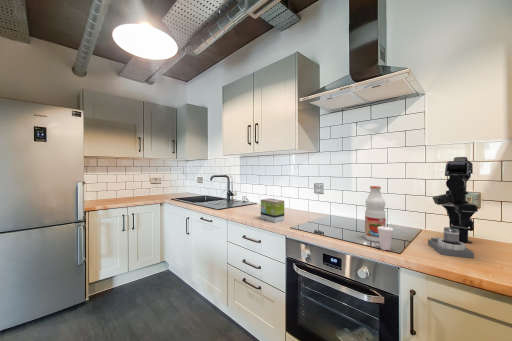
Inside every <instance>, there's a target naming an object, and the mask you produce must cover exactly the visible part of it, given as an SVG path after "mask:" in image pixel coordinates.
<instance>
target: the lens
mask: <svg viewBox="0 0 512 341" xmlns="http://www.w3.org/2000/svg"><path fill="white" fill-rule="evenodd" d="M443 239H444V242H445V243H448V244H454V245H459V229H456V228H451V227H450V226H444V227H443Z"/></svg>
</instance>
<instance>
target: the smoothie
mask: <svg viewBox="0 0 512 341" xmlns="http://www.w3.org/2000/svg"><path fill="white" fill-rule="evenodd" d="M378 232H379V240H380V242H379V246H380V247H379V248H380V249H381V250H383V251H386V250H389V251H390V250H391V245H392V237H393V233H394V228H392V227H389V226H387V217H385V227H383V226H380V227H378Z"/></svg>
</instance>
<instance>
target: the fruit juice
mask: <svg viewBox="0 0 512 341" xmlns="http://www.w3.org/2000/svg"><path fill="white" fill-rule="evenodd" d="M381 188H382V187H381V186H379V185H370V186H369V189H370V192H369V194H368V197H367V198H366V200H365V208H366V209H365V211H364V238H365V240H367V241H369V242H375V243H380V240H379V232H378V227H380V226H383V227H385V218H386V211H385V207H386V201H385V199H384V198H383V196H382V193H381Z"/></svg>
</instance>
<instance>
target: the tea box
mask: <svg viewBox="0 0 512 341" xmlns="http://www.w3.org/2000/svg"><path fill="white" fill-rule="evenodd" d="M260 220H263V221H267V222H271V223H274V224H276V223H281V222H284V221H285V200H282V199H276V198H263V199H260Z"/></svg>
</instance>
